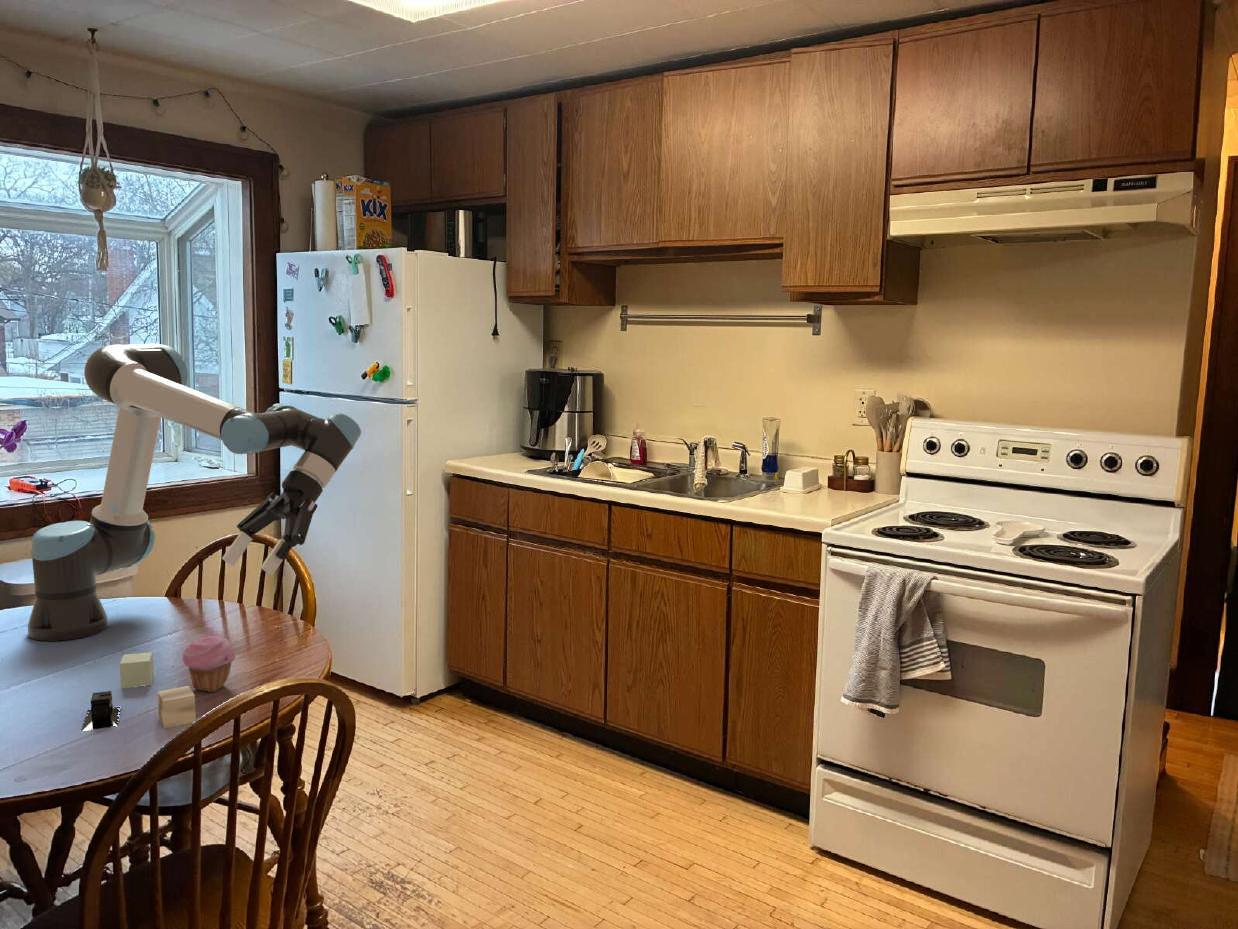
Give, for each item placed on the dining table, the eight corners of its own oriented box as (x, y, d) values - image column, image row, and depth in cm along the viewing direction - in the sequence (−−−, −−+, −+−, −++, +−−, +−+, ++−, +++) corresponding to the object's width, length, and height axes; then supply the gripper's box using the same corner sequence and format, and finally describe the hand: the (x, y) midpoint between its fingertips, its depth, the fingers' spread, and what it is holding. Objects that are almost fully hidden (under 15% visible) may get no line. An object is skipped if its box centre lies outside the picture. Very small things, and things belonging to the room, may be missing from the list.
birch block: (159, 718, 163) (157, 691, 162) (189, 712, 166) (188, 685, 165) (164, 729, 159) (162, 701, 158) (195, 722, 162) (194, 695, 161)
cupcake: (174, 693, 174) (172, 641, 172) (208, 676, 182) (206, 627, 180) (213, 700, 171) (211, 647, 170) (246, 683, 179) (244, 633, 178)
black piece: (122, 732, 158) (121, 706, 158) (73, 739, 156) (71, 713, 155) (127, 704, 170) (126, 679, 169) (81, 710, 167) (80, 685, 166)
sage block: (125, 679, 180) (123, 654, 179) (154, 676, 181) (152, 652, 181) (121, 689, 175) (119, 663, 174) (150, 686, 177) (149, 661, 176)
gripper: (357, 495, 185) (297, 586, 176) (285, 485, 200) (225, 568, 191) (332, 472, 180) (269, 564, 171) (260, 464, 196) (198, 548, 186)
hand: (246, 567), depth 181 cm, fingers open, 13 cm apart
